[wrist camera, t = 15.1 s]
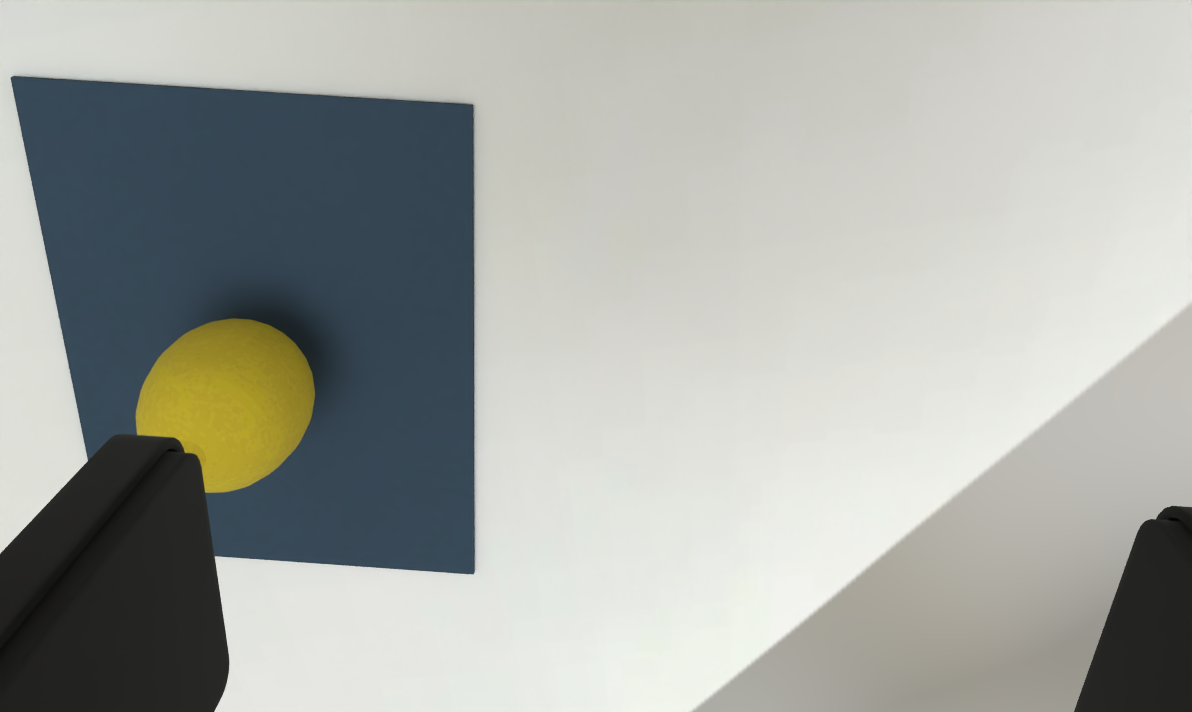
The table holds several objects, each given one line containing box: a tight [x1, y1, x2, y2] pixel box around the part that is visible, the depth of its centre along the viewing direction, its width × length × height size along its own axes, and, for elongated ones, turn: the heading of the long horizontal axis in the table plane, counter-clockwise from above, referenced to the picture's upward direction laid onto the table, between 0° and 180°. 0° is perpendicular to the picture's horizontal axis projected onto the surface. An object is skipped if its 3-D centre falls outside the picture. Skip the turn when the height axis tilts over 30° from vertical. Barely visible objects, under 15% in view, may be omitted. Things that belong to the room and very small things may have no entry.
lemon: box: [136, 318, 315, 493], centre depth 35 cm, size 6×6×8 cm
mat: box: [11, 76, 474, 574], centre depth 39 cm, size 20×16×1 cm
